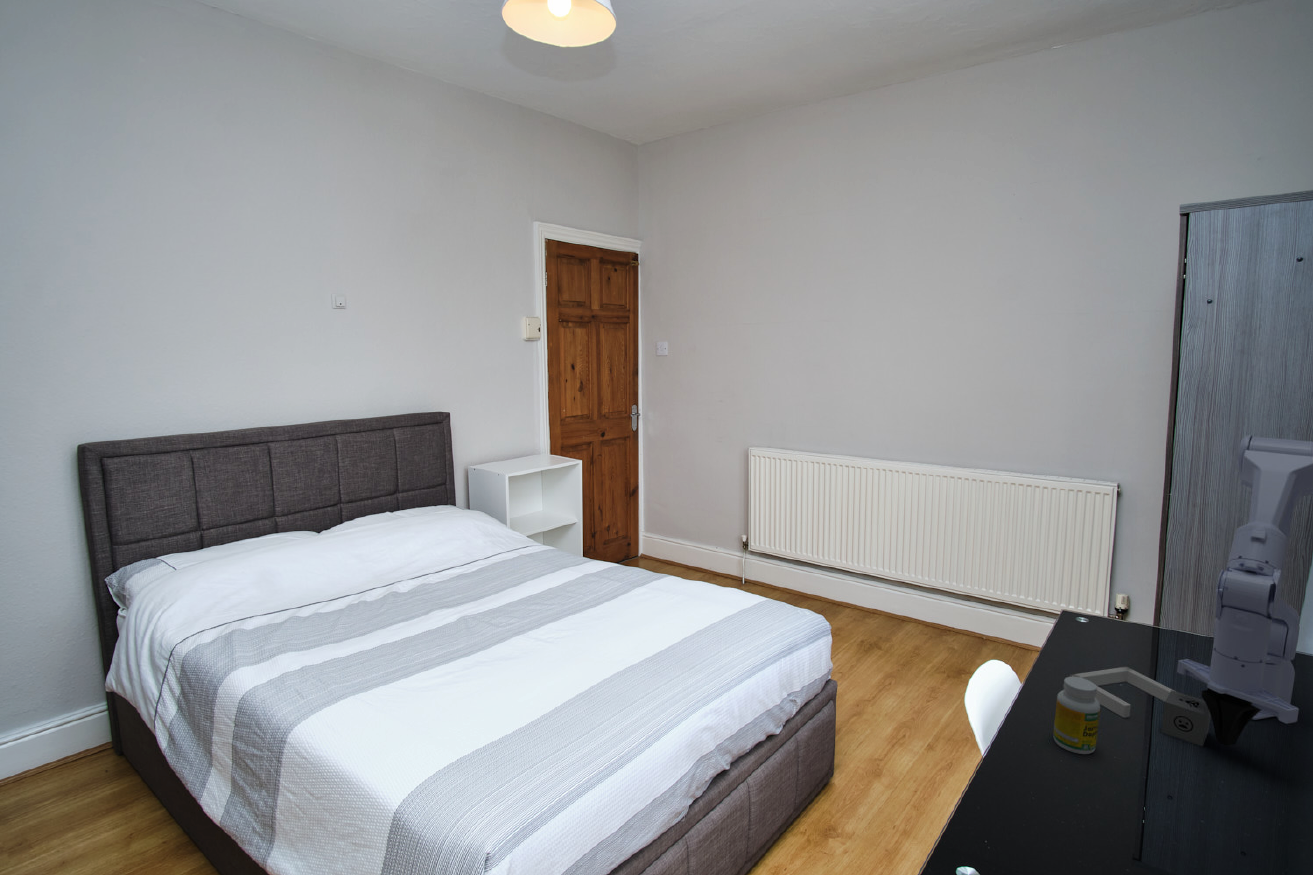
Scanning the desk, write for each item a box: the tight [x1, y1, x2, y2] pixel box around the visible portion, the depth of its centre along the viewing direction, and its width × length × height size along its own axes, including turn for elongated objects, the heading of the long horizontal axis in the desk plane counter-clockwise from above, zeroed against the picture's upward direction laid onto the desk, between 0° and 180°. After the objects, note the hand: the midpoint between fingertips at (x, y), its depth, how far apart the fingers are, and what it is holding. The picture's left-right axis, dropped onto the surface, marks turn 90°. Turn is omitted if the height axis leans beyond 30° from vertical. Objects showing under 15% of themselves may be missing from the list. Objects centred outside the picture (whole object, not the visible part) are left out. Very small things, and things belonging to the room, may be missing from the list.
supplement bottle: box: [1052, 676, 1101, 755], centre depth 98 cm, size 5×5×10 cm
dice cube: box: [1160, 689, 1211, 747], centre depth 102 cm, size 5×5×5 cm
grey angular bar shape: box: [1069, 666, 1177, 719], centre depth 113 cm, size 12×10×2 cm
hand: (1225, 742), depth 98 cm, fingers closed
